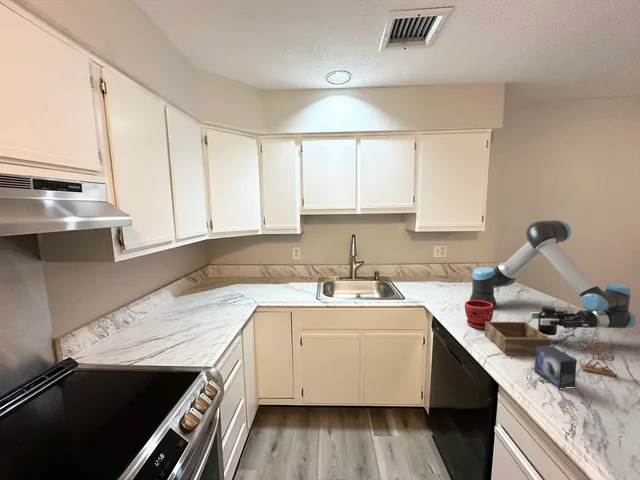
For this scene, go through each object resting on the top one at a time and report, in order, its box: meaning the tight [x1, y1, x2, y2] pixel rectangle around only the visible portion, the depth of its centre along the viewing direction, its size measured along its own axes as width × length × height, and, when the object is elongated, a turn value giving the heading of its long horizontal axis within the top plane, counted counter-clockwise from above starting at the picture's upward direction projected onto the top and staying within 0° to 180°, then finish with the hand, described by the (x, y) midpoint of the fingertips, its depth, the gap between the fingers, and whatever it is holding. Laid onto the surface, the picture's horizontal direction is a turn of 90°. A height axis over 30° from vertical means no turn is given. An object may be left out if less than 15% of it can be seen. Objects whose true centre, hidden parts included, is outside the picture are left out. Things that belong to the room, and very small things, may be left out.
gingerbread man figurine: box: [579, 340, 617, 378], centre depth 105 cm, size 9×4×12 cm, turn 60°
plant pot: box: [464, 300, 494, 330], centre depth 148 cm, size 13×13×12 cm
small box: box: [534, 344, 578, 390], centre depth 101 cm, size 11×6×10 cm, turn 5°
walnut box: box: [484, 321, 553, 356], centre depth 127 cm, size 18×18×7 cm
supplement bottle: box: [537, 305, 559, 336], centre depth 129 cm, size 7×7×12 cm
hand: (536, 318), depth 130 cm, fingers closed on supplement bottle, 7 cm apart
